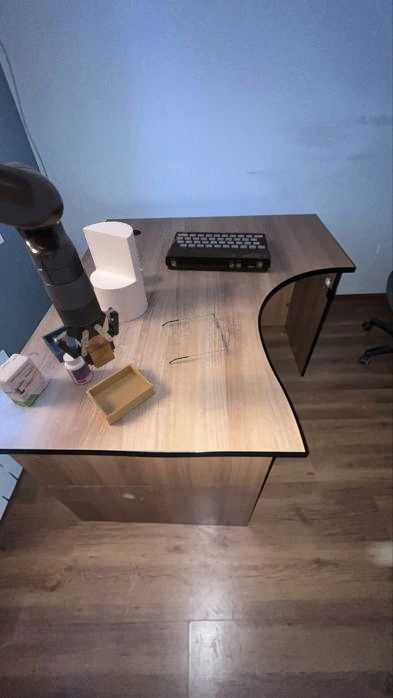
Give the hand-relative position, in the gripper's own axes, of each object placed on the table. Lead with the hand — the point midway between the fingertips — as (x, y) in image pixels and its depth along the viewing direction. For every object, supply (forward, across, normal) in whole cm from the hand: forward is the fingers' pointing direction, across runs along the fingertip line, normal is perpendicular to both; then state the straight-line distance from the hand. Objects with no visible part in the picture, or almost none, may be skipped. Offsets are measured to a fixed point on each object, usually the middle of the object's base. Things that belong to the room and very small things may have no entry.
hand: (100, 356), depth 61 cm
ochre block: (+1, 0, 0) cm, 1 cm away
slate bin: (+17, +1, -29) cm, 33 cm away
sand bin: (+17, -1, +1) cm, 17 cm away
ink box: (+17, +17, -18) cm, 30 cm away
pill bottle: (+17, +4, -13) cm, 22 cm away
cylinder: (+17, -23, -33) cm, 43 cm away
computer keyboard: (+17, -76, -35) cm, 85 cm away
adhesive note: (+17, -35, -44) cm, 59 cm away
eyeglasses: (+17, -30, -2) cm, 34 cm away
